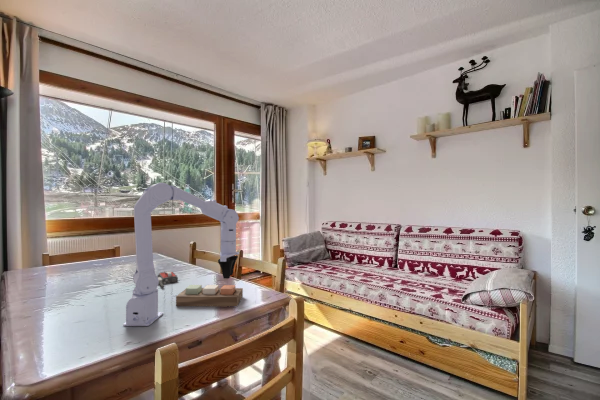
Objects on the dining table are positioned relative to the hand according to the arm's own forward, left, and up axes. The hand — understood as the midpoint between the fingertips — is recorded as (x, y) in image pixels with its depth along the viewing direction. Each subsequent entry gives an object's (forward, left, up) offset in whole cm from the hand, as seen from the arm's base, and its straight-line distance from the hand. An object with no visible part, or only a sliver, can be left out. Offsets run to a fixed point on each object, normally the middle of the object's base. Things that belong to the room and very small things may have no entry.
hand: (228, 276), depth 108 cm
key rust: (0, 0, -6) cm, 6 cm away
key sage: (0, +13, -6) cm, 14 cm away
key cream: (0, +6, -6) cm, 9 cm away
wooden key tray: (0, +6, -9) cm, 11 cm away
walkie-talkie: (+24, +35, -10) cm, 43 cm away
